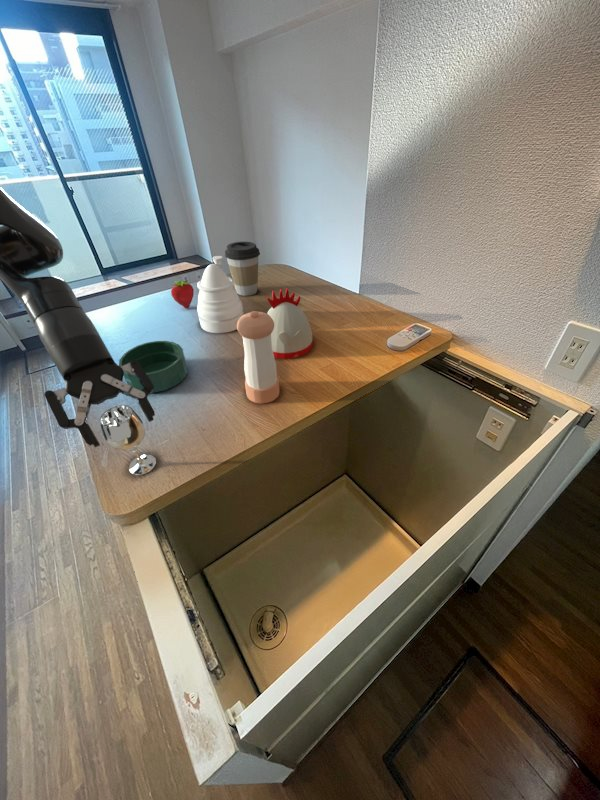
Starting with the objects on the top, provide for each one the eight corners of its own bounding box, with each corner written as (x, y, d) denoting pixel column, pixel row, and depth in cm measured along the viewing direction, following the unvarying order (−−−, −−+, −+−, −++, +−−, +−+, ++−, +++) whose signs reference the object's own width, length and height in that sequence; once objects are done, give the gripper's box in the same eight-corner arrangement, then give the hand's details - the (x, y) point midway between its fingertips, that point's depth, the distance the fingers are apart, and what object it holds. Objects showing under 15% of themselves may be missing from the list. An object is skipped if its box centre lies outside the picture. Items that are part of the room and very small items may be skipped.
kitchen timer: (256, 334, 91) (250, 281, 81) (304, 328, 93) (304, 275, 83) (265, 362, 80) (259, 305, 71) (318, 354, 83) (320, 297, 73)
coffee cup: (268, 287, 115) (265, 242, 105) (253, 300, 107) (248, 253, 97) (240, 283, 118) (235, 239, 109) (224, 295, 111) (216, 248, 101)
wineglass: (117, 473, 56) (86, 424, 48) (139, 449, 60) (114, 400, 52) (146, 481, 54) (119, 432, 47) (166, 456, 59) (144, 406, 51)
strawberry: (171, 311, 102) (162, 279, 96) (187, 301, 107) (179, 271, 101) (186, 314, 100) (177, 282, 94) (201, 305, 105) (194, 273, 99)
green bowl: (118, 395, 71) (108, 375, 68) (139, 360, 82) (132, 341, 78) (180, 394, 72) (173, 374, 68) (194, 359, 82) (189, 340, 78)
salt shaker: (248, 406, 68) (235, 323, 56) (244, 385, 74) (232, 305, 61) (282, 400, 70) (277, 318, 57) (276, 380, 75) (270, 301, 62)
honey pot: (228, 308, 103) (218, 248, 91) (253, 322, 96) (245, 258, 84) (192, 322, 96) (176, 259, 85) (216, 338, 89) (202, 271, 78)
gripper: (14, 352, 45) (74, 454, 46) (119, 320, 52) (169, 409, 53) (29, 367, 52) (81, 456, 53) (121, 336, 58) (165, 415, 59)
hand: (125, 432), depth 53 cm, fingers open, 8 cm apart
